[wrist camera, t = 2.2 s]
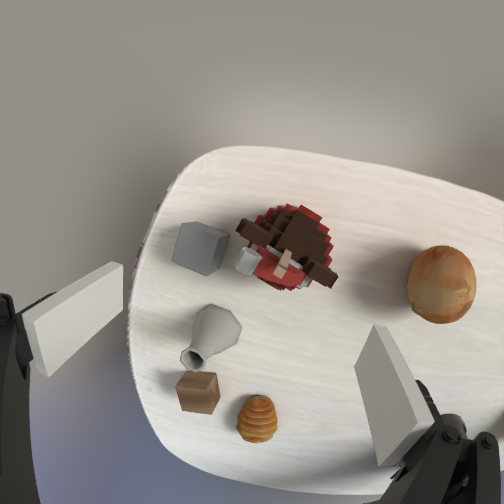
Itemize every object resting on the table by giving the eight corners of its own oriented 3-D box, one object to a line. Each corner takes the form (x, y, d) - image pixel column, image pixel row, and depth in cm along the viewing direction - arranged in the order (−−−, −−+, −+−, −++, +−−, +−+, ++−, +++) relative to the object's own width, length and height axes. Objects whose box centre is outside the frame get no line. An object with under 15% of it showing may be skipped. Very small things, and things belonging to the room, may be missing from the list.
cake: (345, 232, 34) (383, 254, 17) (307, 292, 36) (308, 362, 19) (274, 189, 35) (245, 170, 18) (239, 251, 37) (183, 286, 20)
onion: (382, 277, 34) (407, 299, 24) (430, 226, 32) (468, 231, 22) (419, 322, 34) (447, 353, 24) (464, 274, 32) (501, 293, 22)
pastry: (240, 389, 41) (235, 403, 37) (282, 395, 40) (280, 410, 36) (238, 427, 42) (233, 441, 39) (275, 433, 41) (273, 447, 38)
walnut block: (220, 396, 42) (211, 414, 37) (193, 393, 43) (182, 410, 38) (216, 372, 41) (206, 389, 36) (187, 370, 42) (175, 386, 37)
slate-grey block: (218, 268, 38) (206, 276, 33) (187, 255, 39) (171, 261, 34) (230, 234, 37) (219, 237, 32) (197, 221, 38) (182, 223, 33)
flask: (186, 329, 41) (155, 359, 31) (210, 294, 39) (181, 320, 29) (224, 357, 40) (202, 395, 30) (251, 325, 39) (234, 359, 29)
